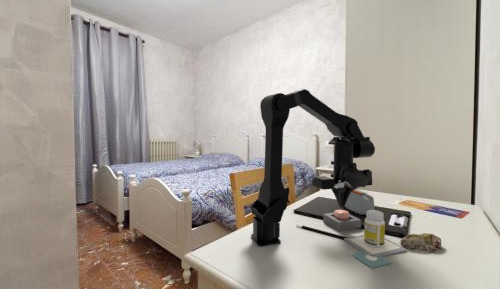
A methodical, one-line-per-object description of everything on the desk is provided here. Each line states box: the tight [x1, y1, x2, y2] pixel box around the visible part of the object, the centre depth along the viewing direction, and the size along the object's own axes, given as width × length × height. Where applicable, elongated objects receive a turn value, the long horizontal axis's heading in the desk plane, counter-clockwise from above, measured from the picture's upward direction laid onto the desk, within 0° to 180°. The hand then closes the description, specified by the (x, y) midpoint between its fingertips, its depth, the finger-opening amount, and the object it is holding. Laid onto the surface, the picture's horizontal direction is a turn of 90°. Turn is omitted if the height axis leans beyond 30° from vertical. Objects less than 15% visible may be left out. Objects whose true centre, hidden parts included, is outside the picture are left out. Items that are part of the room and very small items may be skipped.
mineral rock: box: [399, 232, 442, 253], centre depth 64 cm, size 11×4×8 cm
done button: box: [333, 209, 350, 221], centre depth 77 cm, size 4×4×2 cm
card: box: [351, 251, 393, 269], centre depth 57 cm, size 6×6×1 cm
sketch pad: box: [343, 234, 408, 257], centre depth 64 cm, size 11×10×1 cm
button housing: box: [322, 212, 362, 232], centre depth 77 cm, size 8×8×2 cm
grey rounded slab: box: [344, 188, 375, 215], centre depth 89 cm, size 14×3×8 cm, turn 20°
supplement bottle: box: [363, 210, 386, 247], centre depth 64 cm, size 5×5×8 cm
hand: (341, 207), depth 77 cm, fingers closed
